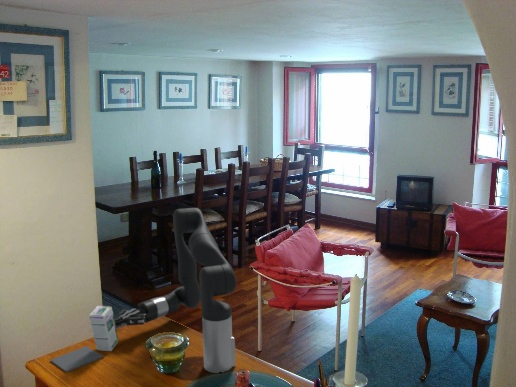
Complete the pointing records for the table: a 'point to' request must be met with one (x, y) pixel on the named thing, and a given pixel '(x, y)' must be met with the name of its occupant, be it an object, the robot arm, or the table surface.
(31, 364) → the table surface
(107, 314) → the syrup box
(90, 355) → the charcoal mat
